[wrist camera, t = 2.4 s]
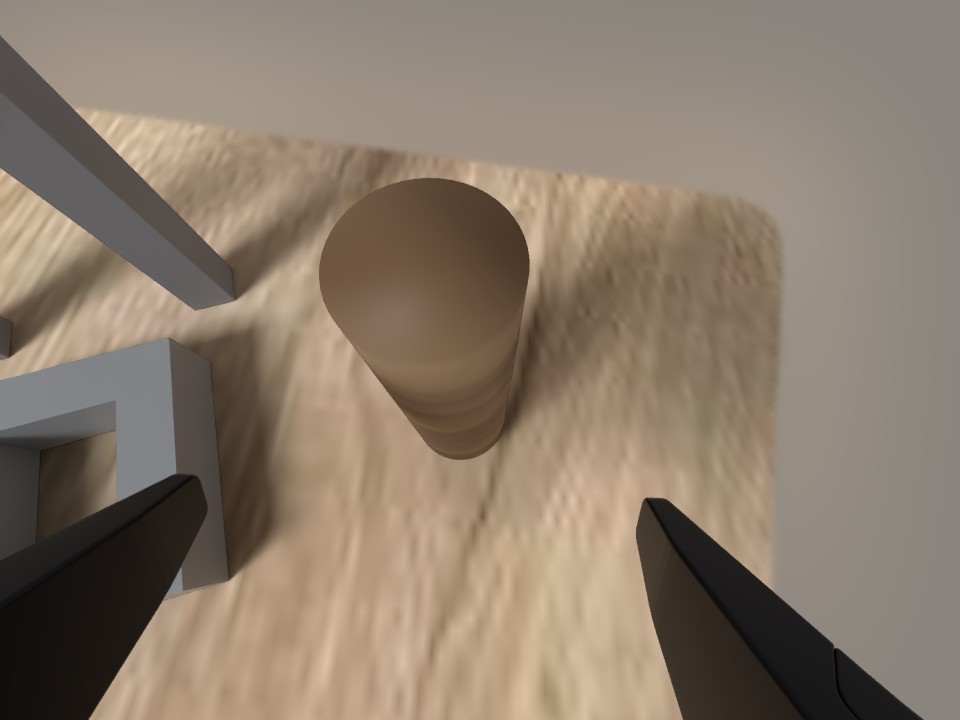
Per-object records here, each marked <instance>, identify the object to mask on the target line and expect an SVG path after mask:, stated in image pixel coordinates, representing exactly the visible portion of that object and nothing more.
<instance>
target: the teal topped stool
mask: <svg viewBox="0 0 960 720" xmlns="http://www.w3.org/2000/svg"><path fill="white" fill-rule="evenodd" d="M0 168H1V169H3V170H4V171H6V172H7V173H8V174H10V175H11V176H12V177H14V178H15V179H16V180H18V181H19V182H21V183H22V184H23V185H25V186H26V187H27V188H29V189H30V190H31V191H33V192H34V193H36V194H37V195H38V196H40V197H41V198H42V199H44V200H45V201H46V202H48V203H49V204H51V205H52V206H53V207H55V208H56V209H57V210H59V211H60V212H62V213H63V214H64V215H66V216H67V217H68V218H70V219H71V220H72V221H74V222H75V223H77V224H78V225H79V226H81V227H82V228H83V229H85V230H86V231H87V232H89V233H90V234H92V235H93V236H94V237H96V238H97V239H98V240H100V241H101V242H102V243H104V244H105V245H107V246H108V247H109V248H111V249H112V250H113V251H115V252H116V253H117V254H119V255H120V256H122V257H123V258H124V259H126V260H127V261H128V262H130V263H131V264H132V265H134V266H135V267H137V268H138V269H139V270H141V271H142V272H143V273H145V274H146V275H147V276H149V277H150V278H152V279H153V280H154V281H156V282H157V283H158V284H160V285H161V286H163V287H164V288H165V289H167V290H168V291H169V292H171V293H172V294H173V295H175V296H176V297H178V298H179V299H180V300H182V301H183V302H184V303H186V304H187V305H188V306H190V307H191V308H193V309H194V310H199V309H203V308H207V307H211V306H215V305H219V304H223V303H227V302H231V301H235V296H234V287H233V278H232V269H231V267H230V266H229V265H228V264H227V263H226V262H225V261H224V260H223V259H222V258H221V257H220V256H219V255H218V254H217V253H216V252H215V251H214V250H213V249H212V248H211V247H210V246H209V245H208V244H207V243H206V242H205V241H204V240H203V239H202V238H201V237H200V236H199V235H198V234H197V233H196V232H195V231H194V230H193V229H192V228H191V227H190V226H189V225H188V224H187V223H186V222H185V221H184V220H183V219H182V218H181V217H180V216H179V215H178V214H177V213H176V212H175V211H174V210H173V209H172V208H171V207H170V206H169V205H168V204H167V203H166V202H165V201H164V200H163V199H162V198H161V197H160V196H159V195H158V194H157V193H156V192H155V191H154V190H153V189H152V188H151V187H150V186H149V185H148V184H147V183H146V182H145V181H144V180H143V179H142V178H141V177H140V176H139V175H138V174H137V173H136V172H135V171H134V170H133V169H132V168H131V167H130V166H129V165H128V164H127V163H126V162H125V161H124V160H123V159H122V158H121V157H120V156H119V155H118V153H117V152H116V151H115V150H114V149H113V148H112V147H111V146H110V145H109V144H108V143H107V142H106V141H105V140H104V139H103V138H102V137H101V136H100V135H99V134H98V133H97V132H96V131H95V130H94V129H93V128H92V127H91V126H90V125H89V124H88V123H87V122H86V121H85V120H84V119H83V118H82V117H81V116H80V115H79V114H78V113H77V112H76V111H75V110H74V109H73V108H72V107H71V106H70V105H69V104H68V103H67V102H66V101H65V100H64V99H63V98H62V97H61V96H60V95H59V94H58V93H57V92H56V91H55V90H54V89H53V88H52V87H51V86H50V85H49V84H48V83H47V82H46V81H45V80H44V79H43V78H42V77H41V76H40V75H39V74H38V73H37V72H36V71H35V70H34V69H33V68H32V67H31V66H30V65H28V63H27V62H26V61H25V60H24V59H23V58H22V57H21V56H20V55H19V54H18V53H17V52H16V51H15V50H14V49H13V48H12V47H11V46H10V45H9V44H8V43H7V42H6V41H5V40H4V39H3V38H2V37H1V36H0ZM11 327H12V322H11V321H9V320H7V319H4V318H2V317H0V360H1V359H5V358H9V352H10V339H11Z"/></svg>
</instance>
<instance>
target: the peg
mask: <svg viewBox="0 0 960 720" xmlns="http://www.w3.org/2000/svg"><path fill="white" fill-rule="evenodd" d="M529 261H530V260H529V253H528V247H527V244H526V240H525V237H524V235H523V233H522V230H521V228H520V226H519V225H518V223H517V222H516V220H515V219H514V217H513V216H512V215H511V213H510V212H509V211H508V210H507V209H506V208H505V207H504V206H503V205H502V204H501V203H500V202H498V201H497V200H496V199H495V198H493V197H492V196H490V195H489V194H487V193H485V192H484V191H482V190H480V189H478V188H476V187H473V186H470V185H468V184H465V183H461V182H457V181H453V180H447V179H440V178H421V179H412V180H406V181H401V182H398V183H394V184H391V185H388V186H386V187H383V188H381V189H378V190H376V191H374V192H373V193H371V194H369V195H367V196H365V197H364V198H363V199H361V200H360V201H358V202H357V203H356V204H354V205H353V206H352V207H351V208H350V209H349V210H348V211H347V212H346V213H345V214H344V215H343V216H342V217H341V218H340V219H339V221H338V222H337V223H336V225H335V226H334V228H333V229H332V231H331V233H330V234H329V236H328V238H327V240H326V243H325V246H324V248H323V251H322V255H321V260H320V267H319V281H320V289H321V293H322V297H323V300H324V303H325V305H326V307H327V309H328V312H329V313H330V315H331V316H332V318H333V320H334V321H335V323H336V324H337V325H338V327H339V328H340V329H341V331H342V332H343V333H344V335H345V336H346V337H347V339H348V340H349V341H350V343H351V344H352V345H353V347H354V348H355V349H356V351H357V352H358V353H359V355H360V356H361V357H362V359H363V360H364V361H365V362H366V364H367V365H368V366H369V368H370V369H371V370H372V372H373V373H374V374H375V376H376V377H377V378H378V380H379V381H380V382H381V384H382V385H383V386H384V388H385V389H386V390H387V392H388V393H389V394H390V396H391V397H392V398H393V400H394V401H395V402H396V404H397V405H398V406H399V408H400V409H401V410H402V412H403V413H404V414H405V416H406V417H407V418H408V420H409V421H410V422H411V424H412V425H413V426H414V427H415V429H416V430H417V431H418V433H419V434H420V435H421V437H422V438H423V439H424V441H425V442H426V443H427V445H428V446H429V447H430V448H431V449H432V450H434V451H435V452H436V453H438V454H440V455H442V456H444V457H447V458H450V459H455V460H465V459H471V458H474V457H477V456H479V455H481V454H483V453H485V452H486V451H488V450H489V449H490V448H491V447H492V446H493V445H494V444H495V442H496V441H497V440H498V438H499V436H500V434H501V432H502V429H503V425H504V419H505V413H506V408H507V402H508V396H509V390H510V384H511V378H512V372H513V366H514V360H515V354H516V348H517V343H518V337H519V331H520V325H521V319H522V313H523V307H524V301H525V295H526V289H527V283H528V277H529Z"/></svg>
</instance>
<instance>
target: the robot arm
mask: <svg viewBox="0 0 960 720" xmlns="http://www.w3.org/2000/svg"><path fill="white" fill-rule="evenodd" d="M207 513H208V503H207V500H206V496H205V493H204V490H203V486H202V483H201V480H200V478H199V477H198V476H197V475H195V474H183V473H178V474H173V475H171V476H169V477H167V478H165V479H163V480H161V481H159V482H157V483H155V484H153V485H151V486H149V487H147V488H145V489H143V490H141V491H139V492H137V493H135V494H133V495H131V496H129V497H127V498H125V499H122V500H120V501H118V502H116V503H114V504H112V505H110V506H108V507H106V508H104V509H102V510H100V511H98V512H96V513H94V514H92V515H90V516H88V517H86V518H84V519H82V520H80V521H78V522H76V523H74V524H72V525H70V526H68V527H66V528H64V529H62V530H60V531H58V532H56V533H54V534H52V535H50V536H48V537H46V538H44V539H42V540H40V541H38V542H36V543H34V544H32V545H30V546H28V547H26V548H24V549H22V550H20V551H18V552H16V553H14V554H12V555H10V556H8V557H5V558H3V559H1V560H0V720H89V718H90V717H91V715H92V714H93V712H94V710H95V709H96V707H97V706H98V704H99V702H100V701H101V699H102V698H103V696H104V694H105V693H106V691H107V689H108V688H109V686H110V685H111V683H112V681H113V680H114V678H115V677H116V675H117V673H118V672H119V670H120V669H121V667H122V665H123V664H124V662H125V661H126V659H127V657H128V656H129V654H130V653H131V651H132V649H133V648H134V646H135V645H136V643H137V641H138V640H139V638H140V636H141V635H142V633H143V632H144V630H145V628H146V627H147V625H148V624H149V622H150V620H151V619H152V617H153V616H154V614H155V612H156V611H157V609H158V608H159V606H160V604H161V603H162V601H163V599H164V598H165V596H166V594H167V593H168V591H169V589H170V587H171V586H172V584H173V582H174V580H175V578H176V576H177V574H178V572H179V570H180V568H181V566H182V564H183V562H184V560H185V558H186V556H187V554H188V552H189V550H190V548H191V546H192V544H193V542H194V540H195V538H196V536H197V534H198V532H199V530H200V528H201V526H202V524H203V522H204V520H205V518H206V516H207ZM636 540H637V545H638V551H639V556H640V561H641V566H642V571H643V576H644V581H645V586H646V592H647V597H648V602H649V607H650V611H651V616H652V620H653V623H654V627H655V630H656V634H657V637H658V640H659V643H660V646H661V650H662V653H663V656H664V659H665V663H666V666H667V669H668V672H669V676H670V679H671V682H672V685H673V689H674V692H675V695H676V698H677V702H678V705H679V708H680V711H681V714H682V718H683V720H923V719H922V718H921V717H919V716H918V715H917V714H916V713H914V712H913V711H912V710H911V709H910V708H908V707H907V706H906V705H904V704H903V703H902V702H901V701H899V700H898V699H897V698H896V697H895V696H894V695H892V694H891V693H890V692H889V691H888V690H887V689H885V688H884V687H883V686H882V685H881V684H879V683H878V682H877V681H876V680H875V679H874V678H872V677H871V676H870V675H868V673H866V672H865V671H864V670H863V669H862V668H861V667H859V666H858V665H857V664H856V663H855V662H854V661H852V660H851V659H850V658H849V657H848V656H847V655H846V654H844V653H843V652H842V651H841V650H840V649H838V648H835V649H834V645H833V643H831V642H830V641H829V640H828V639H827V638H826V637H825V636H823V635H822V634H821V633H820V632H819V631H818V630H817V629H815V628H814V627H813V626H812V625H811V624H810V623H809V622H807V621H806V620H805V619H804V618H803V617H802V616H800V615H799V614H798V613H797V612H796V611H795V610H794V609H792V608H791V607H790V606H789V605H788V604H787V603H786V602H784V601H783V600H782V599H781V598H780V597H779V596H778V595H776V594H775V593H774V592H773V591H772V590H771V589H770V588H768V587H767V586H766V585H765V584H764V583H763V582H762V581H760V580H759V579H758V578H757V577H756V576H755V575H753V574H752V573H751V572H750V571H749V570H748V569H747V568H745V567H744V566H743V565H742V564H741V563H740V562H739V561H737V560H736V559H735V558H734V557H733V556H732V555H730V554H729V553H728V552H727V551H726V550H725V549H724V548H722V547H721V546H720V545H719V544H718V543H717V542H716V541H714V540H713V539H712V538H711V537H710V536H709V535H707V534H706V533H705V532H704V531H703V530H702V529H701V528H699V527H698V526H697V525H696V524H695V523H694V522H693V521H691V520H690V519H689V518H688V517H687V516H686V515H685V514H683V513H682V512H681V511H680V510H679V509H678V508H676V507H675V506H674V505H673V504H672V503H671V502H670V501H668V500H667V499H664V498H649V497H648V498H645V499H644V500H643V502H642V506H641V510H640V515H639V519H638V523H637V527H636Z"/></svg>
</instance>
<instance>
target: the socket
mask: <svg viewBox="0 0 960 720" xmlns="http://www.w3.org/2000/svg"><path fill="white" fill-rule="evenodd" d="M115 430H116V456H117V502H118V501H120V500H122V499H125V498H127V497H129V496H131V495H133V494H135V493H137V492H139V491H141V490H143V489H145V488H147V487H149V486H151V485H153V484H155V483H157V482H159V481H161V480H163V479H165V478H167V477H169V476H171V475H173V474H178V473H183V474H195V475H197V476H198V477H199V478H200V480H201V483H202V486H203V490H204V493H205V496H206V500H207V503H208V513H207V516H206V518H205V520H204V522H203V524H202V526H201V528H200V530H199V532H198V534H197V536H196V538H195V540H194V542H193V544H192V546H191V548H190V550H189V552H188V554H187V556H186V558H185V560H184V562H183V564H182V566H181V568H180V570H179V572H178V574H177V576H176V578H175V580H174V582H173V584H172V586H171V587H170V589H169V591H168V593H167V594H166V596H165V598H164V599H163V601H164V600H167V599H171V598H174V597H177V596H180V595H184V594H187V593H190V592H194V591H197V590H200V589H204V588H207V587H210V586H213V585H217V584H220V583H223V582H227V581H229V576H228V565H227V553H226V542H225V530H224V518H223V507H222V495H221V484H220V472H219V461H218V449H217V438H216V426H215V414H214V403H213V391H212V380H211V368H210V361H208V360H207V359H205V358H203V357H202V356H200V355H198V354H196V353H195V352H193V351H191V350H190V349H188V348H186V347H185V346H183V345H181V344H179V343H178V342H176V341H174V340H173V339H171V338H165V339H161V340H157V341H153V342H149V343H145V344H141V345H137V346H133V347H129V348H126V349H122V350H118V351H114V352H110V353H106V354H102V355H98V356H94V357H90V358H86V359H83V360H79V361H75V362H71V363H67V364H63V365H59V366H55V367H51V368H47V369H43V370H40V371H36V372H32V373H28V374H24V375H20V376H16V377H12V378H8V379H4V380H0V560H1V559H3V558H5V557H8V556H10V555H12V554H14V553H16V552H18V551H20V550H22V549H24V548H26V547H28V546H30V545H32V544H34V543H36V530H37V509H38V488H39V468H40V450H44V449H48V448H52V447H55V446H59V445H63V444H66V443H70V442H74V441H78V440H81V439H85V438H89V437H92V436H96V435H100V434H103V433H107V432H111V431H115Z"/></svg>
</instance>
